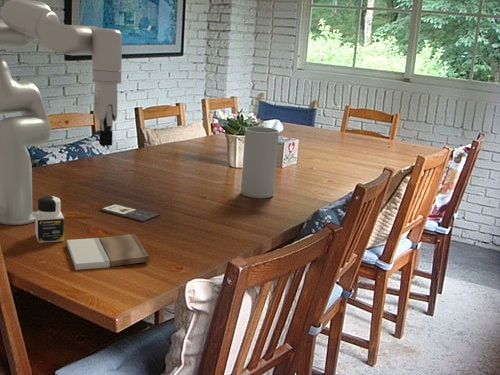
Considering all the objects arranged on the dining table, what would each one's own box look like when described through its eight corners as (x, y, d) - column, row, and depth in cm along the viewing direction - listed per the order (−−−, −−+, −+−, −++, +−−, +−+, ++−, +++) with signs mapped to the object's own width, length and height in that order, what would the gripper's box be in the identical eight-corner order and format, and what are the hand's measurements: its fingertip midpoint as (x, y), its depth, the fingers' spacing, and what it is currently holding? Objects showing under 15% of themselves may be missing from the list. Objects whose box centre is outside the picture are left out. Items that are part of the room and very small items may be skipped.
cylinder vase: (236, 190, 248) (240, 126, 241) (267, 189, 252) (272, 126, 245) (246, 199, 236) (251, 132, 230) (278, 198, 240) (283, 133, 234)
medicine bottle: (37, 243, 179) (37, 202, 176) (35, 234, 186) (34, 195, 182) (64, 241, 182) (64, 200, 179) (60, 233, 188) (60, 193, 185)
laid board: (75, 269, 163) (75, 263, 163) (67, 245, 179) (67, 239, 179) (109, 267, 166) (109, 260, 166) (98, 243, 182) (98, 237, 182)
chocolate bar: (143, 220, 203) (99, 209, 211) (143, 223, 203) (99, 212, 211) (160, 214, 211) (117, 203, 219) (160, 217, 211) (117, 206, 219)
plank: (111, 266, 167) (111, 260, 166) (99, 242, 183) (99, 237, 182) (149, 261, 170) (149, 255, 170) (134, 238, 186) (134, 233, 186)
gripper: (87, 73, 174) (87, 139, 179) (96, 79, 161) (96, 151, 166) (115, 74, 177) (114, 139, 182) (126, 80, 164) (125, 150, 168)
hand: (105, 144), depth 174 cm, fingers closed
